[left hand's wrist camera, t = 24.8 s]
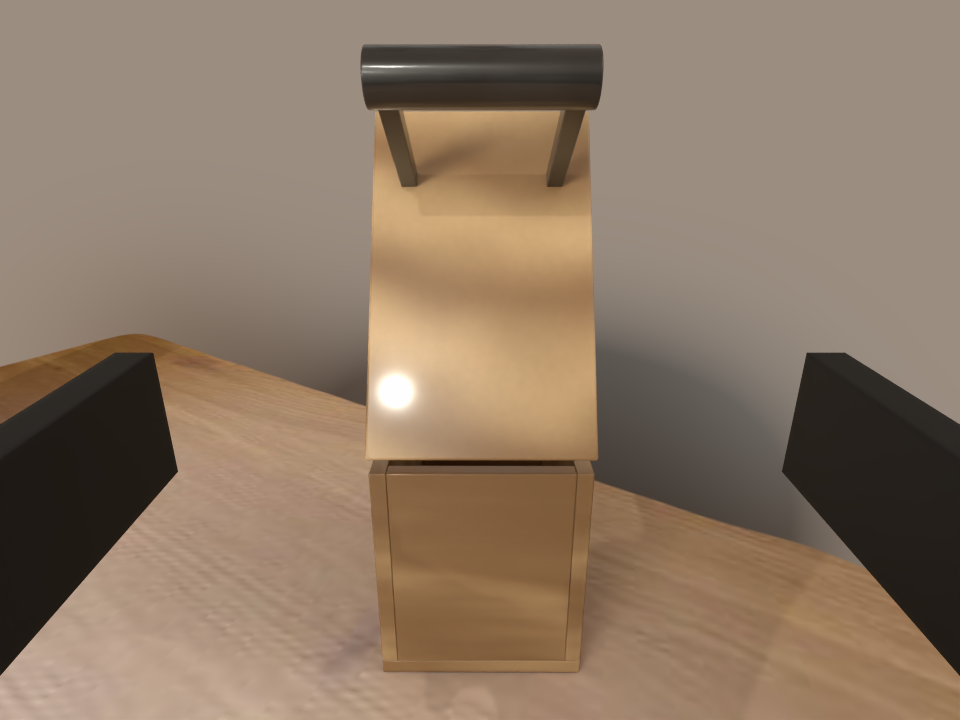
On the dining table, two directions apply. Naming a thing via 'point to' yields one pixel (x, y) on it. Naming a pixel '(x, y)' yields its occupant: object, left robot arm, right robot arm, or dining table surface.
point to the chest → (481, 563)
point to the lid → (481, 252)
